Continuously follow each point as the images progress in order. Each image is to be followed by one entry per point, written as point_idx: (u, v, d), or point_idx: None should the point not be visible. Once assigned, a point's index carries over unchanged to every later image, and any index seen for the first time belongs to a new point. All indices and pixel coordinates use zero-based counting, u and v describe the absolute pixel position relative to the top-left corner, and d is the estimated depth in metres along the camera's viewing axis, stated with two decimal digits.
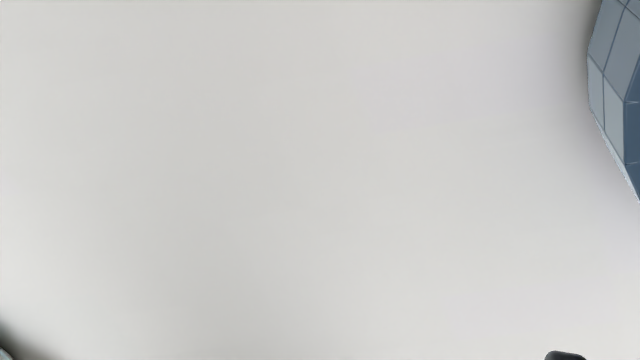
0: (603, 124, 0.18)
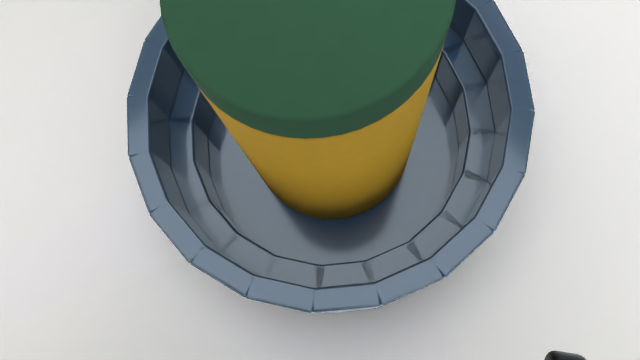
0: None
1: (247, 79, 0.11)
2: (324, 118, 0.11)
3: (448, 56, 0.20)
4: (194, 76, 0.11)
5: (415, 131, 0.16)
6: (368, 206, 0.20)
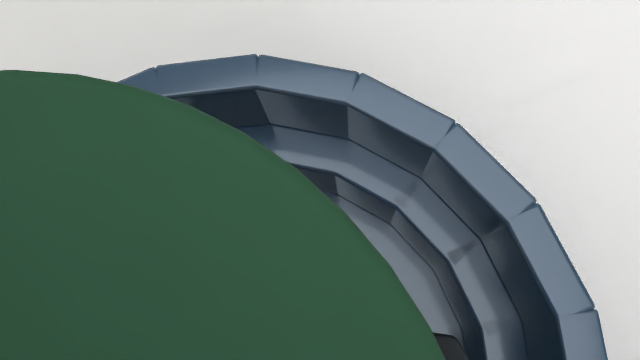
0: None
1: None
2: None
3: (455, 267, 0.12)
4: None
5: None
6: None
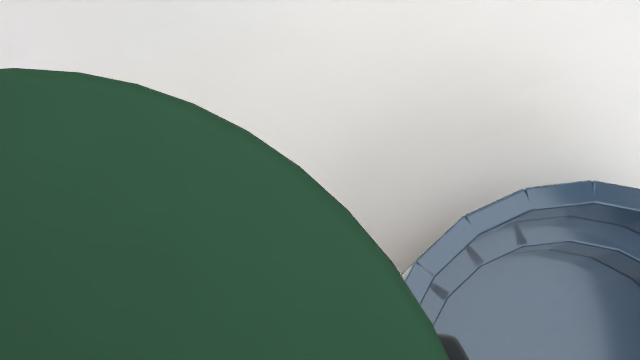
0: None
1: None
2: None
3: None
4: None
5: None
6: None
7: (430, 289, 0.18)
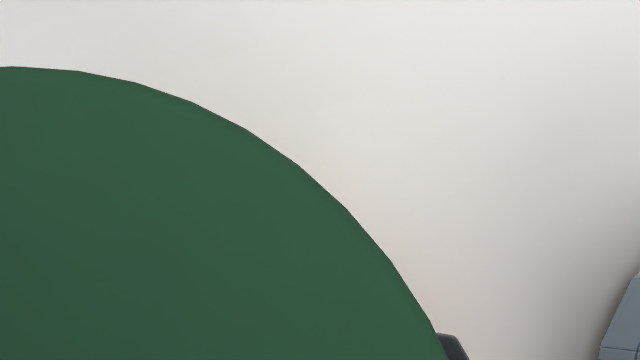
0: None
1: None
2: None
3: None
4: None
5: None
6: None
7: None
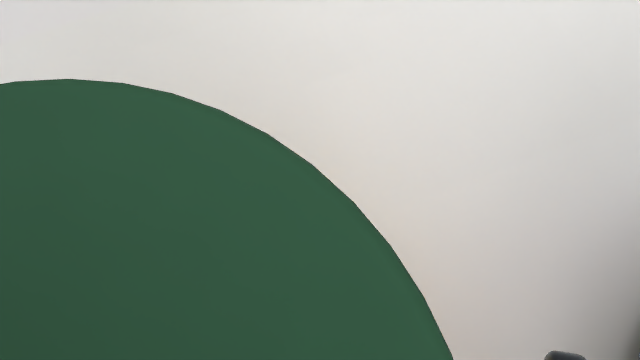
0: None
1: None
2: None
3: None
4: None
5: None
6: None
7: None
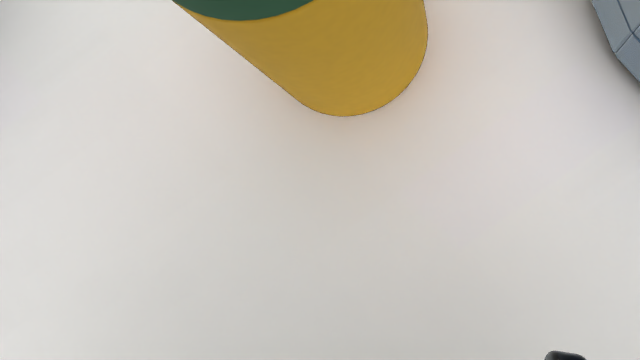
0: None
1: None
2: None
3: None
4: None
5: None
6: (396, 90, 0.20)
7: None
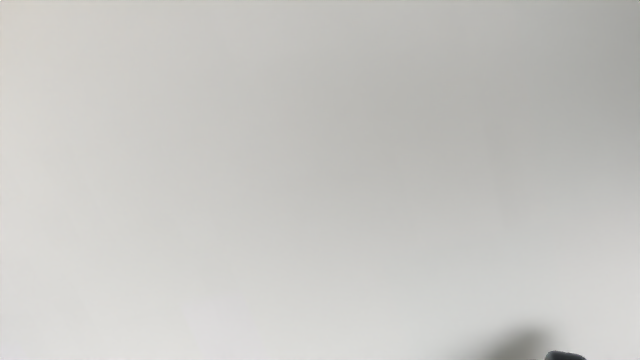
0: None
1: None
2: None
3: None
4: None
5: None
6: None
7: None
